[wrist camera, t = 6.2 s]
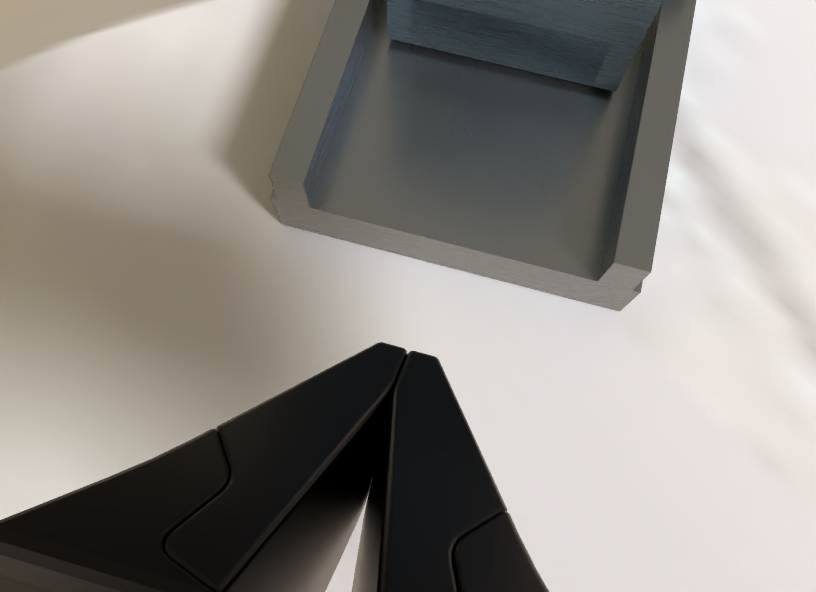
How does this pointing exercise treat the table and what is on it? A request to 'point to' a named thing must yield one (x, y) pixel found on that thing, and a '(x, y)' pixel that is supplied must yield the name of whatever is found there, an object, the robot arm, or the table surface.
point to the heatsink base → (485, 157)
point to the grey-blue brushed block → (531, 33)
